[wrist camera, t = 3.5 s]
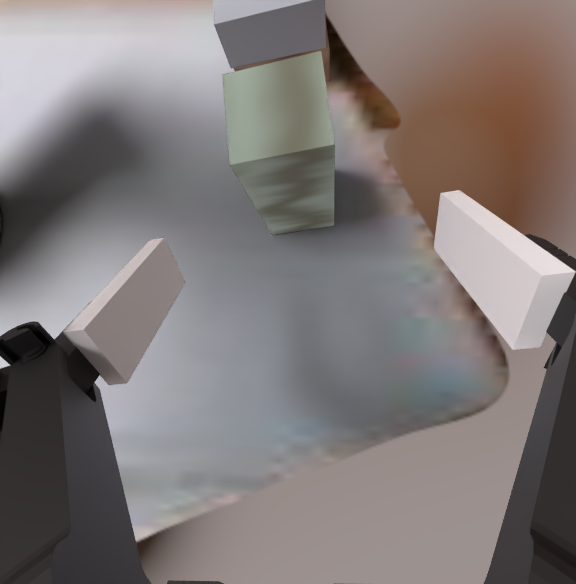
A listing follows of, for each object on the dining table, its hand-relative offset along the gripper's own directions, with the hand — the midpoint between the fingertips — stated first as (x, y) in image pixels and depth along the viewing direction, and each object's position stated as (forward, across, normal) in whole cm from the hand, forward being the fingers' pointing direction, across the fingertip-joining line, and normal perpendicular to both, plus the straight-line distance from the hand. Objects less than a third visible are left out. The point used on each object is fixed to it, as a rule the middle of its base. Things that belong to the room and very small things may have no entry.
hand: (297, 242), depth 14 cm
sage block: (+15, 0, -3) cm, 16 cm away
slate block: (+25, -1, +12) cm, 27 cm away
